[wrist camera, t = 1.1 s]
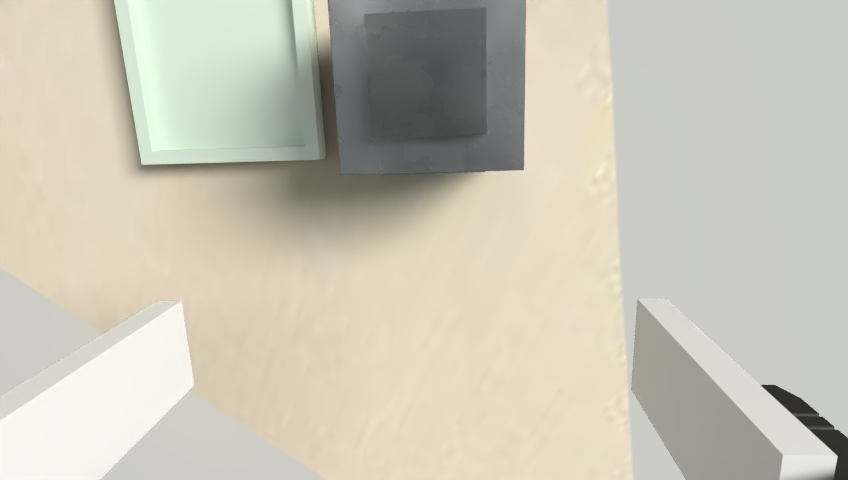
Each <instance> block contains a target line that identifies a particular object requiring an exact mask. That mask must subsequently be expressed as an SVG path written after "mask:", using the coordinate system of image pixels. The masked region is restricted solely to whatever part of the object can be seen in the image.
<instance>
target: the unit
mask: <svg viewBox="0 0 848 480" xmlns="http://www.w3.org/2000/svg"><path fill="white" fill-rule="evenodd" d="M328 11H329V25H330V38H331V52H332V65H333V79H334V92H335V105H336V119H337V132H338V146H339V159H340V173H341V175H350V174H410V173H449V172H485V171H505V170H524V109H525V33H526V0H328Z"/></svg>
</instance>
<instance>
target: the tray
mask: <svg viewBox="0 0 848 480" xmlns="http://www.w3.org/2000/svg"><path fill="white" fill-rule="evenodd" d="M114 4H115V9H116V15H117V21H118V27H119V33H120V39H121V45H122V51H123V57H124V63H125V69H126V75H127V81H128V87H129V92H130V98H131V104H132V110H133V116H134V122H135V128H136V134H137V140H138V146H139V152H140V158H141V164H142V165H151V164H186V163H221V162H257V161H292V160H320V159H323V158H326V146H325V134H324V121H323V109H322V97H321V84H320V72H319V59H318V47H317V34H316V22H315V10H314V0H114Z"/></svg>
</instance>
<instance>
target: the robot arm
mask: <svg viewBox="0 0 848 480" xmlns="http://www.w3.org/2000/svg"><path fill="white" fill-rule="evenodd" d="M193 386H194V379H193V373H192V366H191V360H190V354H189V347H188V341H187V334H186V328H185V321H184V315H183V309H182V302H181V301H156V302H154V303H153V304H151V305H149V306H148V307H146V308H145V309H143V310H141V311H140V312H138V313H136V314H135V315H133V316H131V317H130V318H128V319H126V320H125V321H123V322H121V323H120V324H118V325H117V326H115V327H113V328H112V329H110V330H108V331H107V332H105V333H103V334H102V335H100V336H98V337H97V338H95V339H94V340H92V341H90V342H89V343H87V344H85V345H84V346H82V347H80V348H79V349H77V350H75V351H74V352H72V353H71V354H69V355H67V356H66V357H64V358H62V359H61V360H59V361H57V362H56V363H54V364H52V365H51V366H49V367H47V368H46V369H44V370H42V371H41V372H39V373H38V374H36V375H34V376H33V377H31V378H29V379H28V380H26V381H25V382H23V383H21V384H19V385H18V386H16V387H15V388H13V389H11V390H10V391H8V392H6V393H5V394H3V395H1V396H0V480H100V479H101V478H102V477H103V476H104V475H105V474H106V473H107V472H108V471H109V470H110V469H111V468H112V467H113V466H114V465H115V464H116V463H117V462H118V461H119V460H120V459H121V458H122V457H123V456H124V455H125V454H126V453H127V452H128V451H129V450H130V449H131V448H132V447H133V446H134V445H135V444H136V443H137V442H138V441H139V440H140V439H141V438H142V437H143V436H144V435H145V434H146V433H147V432H148V431H149V430H150V429H151V428H152V427H153V426H154V425H155V424H156V423H157V422H158V421H159V420H160V419H161V418H162V417H163V416H164V415H165V414H166V413H167V412H168V411H169V410H170V409H171V408H172V407H173V406H174V405H175V404H176V403H177V402H178V401H179V400H180V399H181V398H182V397H183V396H184V395H185V394H186V393H187V392H188V391H189V390H190V389H191V388H192V387H193ZM631 389H632V391H633V393H634V394H635V396H636V398H637V400H638V401H639V403H640V404H641V406H642V408H643V409H644V411H645V413H646V414H647V416H648V418H649V419H650V421H651V423H652V424H653V426H654V428H655V429H656V431H657V433H658V434H659V436H660V438H661V439H662V441H663V442H664V444H665V446H666V448H667V449H668V451H669V452H670V454H671V456H672V457H673V459H674V461H675V462H676V464H677V466H678V467H679V469H680V470H681V472H682V474H683V476H684V477H685V479H686V480H848V438H847V437H846V436H845V435H843V434H842V433H841V432H840V431H838V430H835V429H834V426H833V425H831V424H830V423H829V422H828V421H827V420H826V419H824V418H823V417H819V413H817V412H816V411H815V410H814V409H813V408H812V407H810V406H809V405H808V404H807V403H806V402H804V401H803V400H802V399H801V398H799V397H797V396H795V395H793V394H791V393H789V392H787V391H785V390H784V389H781V388H780V387H778V386H776V385H760V384H759V383H758V382H756V381H755V380H754V379H753V378H752V377H751V376H750V375H749V374H748V373H747V372H745V371H744V370H743V369H742V368H741V367H740V366H739V365H738V364H737V363H736V362H735V361H734V360H732V359H731V358H730V357H729V356H728V355H727V354H726V353H725V352H724V351H723V350H722V349H720V348H719V347H718V346H717V345H716V344H715V343H714V342H713V341H712V340H711V339H709V337H707V336H706V335H705V334H704V333H703V332H702V331H701V330H700V329H699V328H697V326H695V325H694V324H693V323H692V322H691V321H690V320H689V319H688V318H687V317H685V315H683V314H682V313H681V312H680V311H679V310H678V309H677V308H676V307H675V306H674V305H673V304H671V303H670V302H669V301H668V300H667V299H638V300H637V315H636V328H635V343H634V358H633V371H632V387H631Z"/></svg>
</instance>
